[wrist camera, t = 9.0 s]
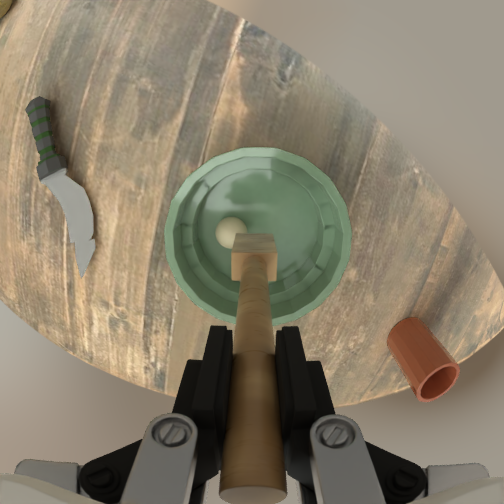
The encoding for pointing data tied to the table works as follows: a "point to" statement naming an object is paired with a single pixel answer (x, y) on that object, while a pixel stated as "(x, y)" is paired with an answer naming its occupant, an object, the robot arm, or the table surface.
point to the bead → (229, 231)
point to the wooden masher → (253, 383)
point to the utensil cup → (422, 359)
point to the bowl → (259, 230)
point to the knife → (62, 184)
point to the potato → (4, 6)
